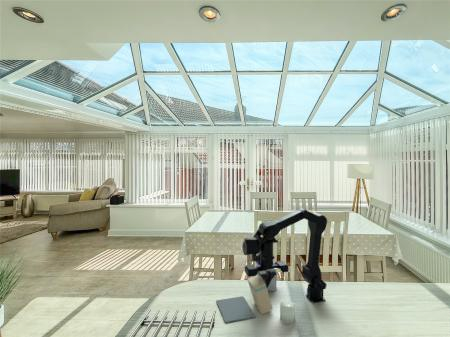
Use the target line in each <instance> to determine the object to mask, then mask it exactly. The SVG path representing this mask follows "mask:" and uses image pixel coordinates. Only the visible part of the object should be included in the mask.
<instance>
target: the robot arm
mask: <svg viewBox="0 0 450 337" xmlns="http://www.w3.org/2000/svg"><path fill="white" fill-rule="evenodd" d="M302 220H307V225H308V228H309V233H310V234H309V244H308V248H309V249H308V254H307V256H308V257H307V263H306V264H305V265H304V264H302V267H301V268H302V271H301V275H302V277H303V279H304V280H305V282H306V283H308V284H307V288H306V294H305V296H306V298H308V299H309V301H311V302H312V303H315V304H316V303H320V302H326V298H325V297H324V290H326V289H327V283H326V282H324V281H323V279H322V270H321V268H320V257H321V256H320V254H321V246H322V244H321V243H322V235H323V233H324V232H325V230H326V228H327V224H328V218H327V217H326V216H325V215H323V214H320V213H318V212H314V211H313V212H311V211H308V210H307V209H304V208H301V207H300V208H298V209H296V210H294V211H292V212H290V213H287V214H286V215H284V216H281V217H280V218H277V219H275V220H269V221H264V222H261V223H260V224H259V225H258V229H257V230H256V232H255V234H254V235H253V237H251V238H248V237H246V238H244V241H243V242H242V246H241V247H242V253H243V255H244V256H251V257H250V258H251V261H252V262H255V263H256V264H257V263H258V265H260V267H256V265H254V264H247V265H245V266H244V268H243V271H244V272H245V274H246V275H247V277H248V278H250V277H252V276H256V275H257V274H259V275H260V276H261V277H262V279H263V282H264V283H265V284H266V287H267V288H268V286H269V284H270V282H271V280H272V279H273V277H274V276H275V275H276V276H277V271H276V272H275V269H276V270H280V271H281V272H282V273H288V272H289V271H290V268H289V265H288V264H287V263H285V261H283V260H278V261H275V262H274V260H275V256H274V243H279V240H277V239H276V236H278V234H280V233H281V231H282V230H283V229H286V228H288V227H290V226H292V225H294V224H296V223H298V222H300V221H302ZM273 263H275V265H273Z"/></svg>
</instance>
